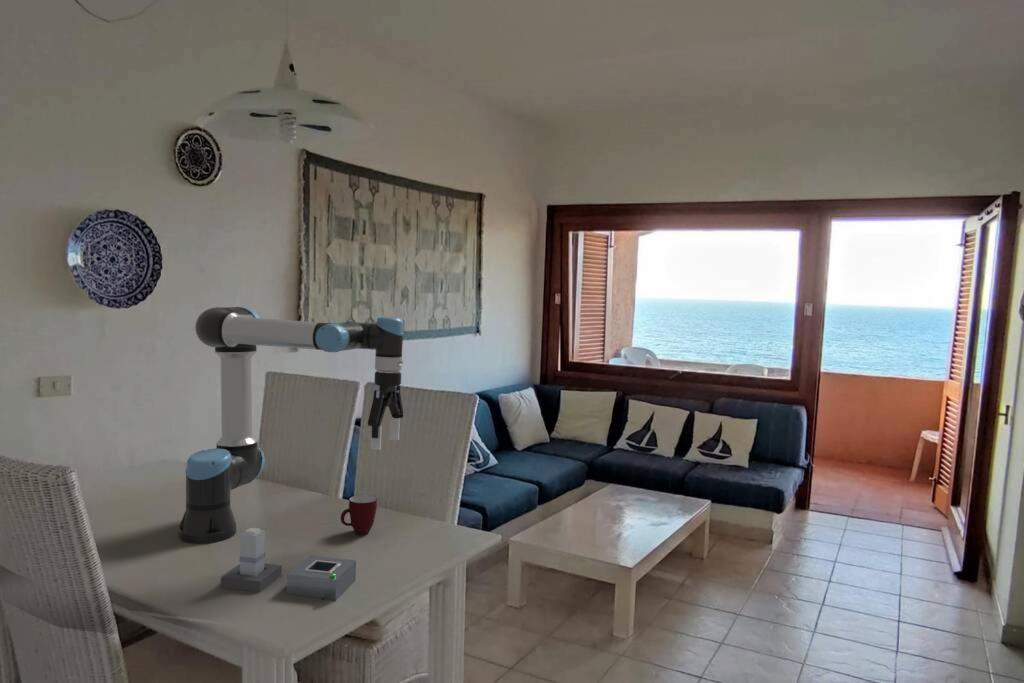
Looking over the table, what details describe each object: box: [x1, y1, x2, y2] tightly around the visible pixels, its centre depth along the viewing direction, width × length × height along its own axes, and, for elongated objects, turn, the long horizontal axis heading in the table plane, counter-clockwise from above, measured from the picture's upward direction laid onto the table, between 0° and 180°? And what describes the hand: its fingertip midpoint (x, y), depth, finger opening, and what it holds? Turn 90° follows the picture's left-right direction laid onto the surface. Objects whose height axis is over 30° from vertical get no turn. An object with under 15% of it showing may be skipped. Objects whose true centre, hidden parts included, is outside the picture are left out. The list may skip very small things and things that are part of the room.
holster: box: [220, 562, 283, 593], centre depth 165 cm, size 10×10×3 cm
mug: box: [340, 494, 378, 535], centre depth 203 cm, size 10×8×10 cm
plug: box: [239, 527, 266, 576], centre depth 165 cm, size 4×4×13 cm
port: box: [286, 555, 357, 602], centre depth 164 cm, size 12×12×6 cm
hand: (385, 444), depth 198 cm, fingers open, 13 cm apart
